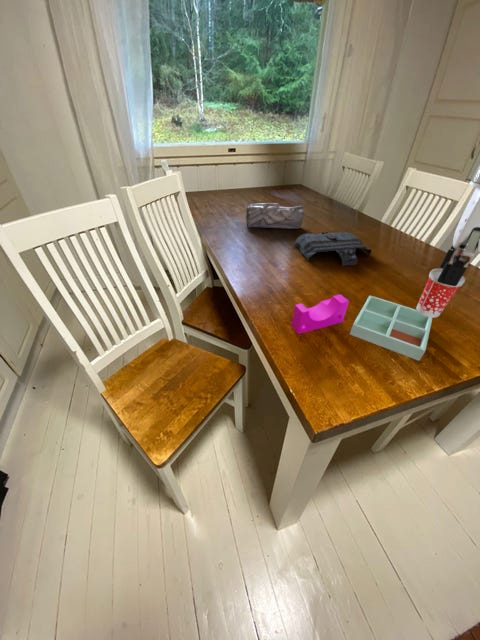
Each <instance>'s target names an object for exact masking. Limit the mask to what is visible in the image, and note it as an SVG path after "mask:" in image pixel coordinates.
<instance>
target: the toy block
mask: <svg viewBox="0 0 480 640" xmlns="http://www.w3.org/2000/svg"><path fill="white" fill-rule="evenodd" d="M349 303H350V301H349V299H347V298H346V297H344V296H343V295H342V294H336V295H333V296H332V297H331V298H329V299H324V300H321V301H320V302H318V303H317V304H316V305H314V306H312V307H308V308H307V307H306V306H305V305H304V304H303V303H297V304H294V309H293V316H292V321H291V327H292V328H293V329H294V331H295V332H296V334H303V333H308V332H311V331H314V330H315V331H316V330H318V329H322V328H326V327H330V326H333V325H338V324H341V323H343V322H344V318H345V315H346V312H347V310H348V306H349Z"/></svg>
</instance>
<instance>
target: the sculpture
mask: <svg viewBox="0 0 480 640" xmlns="http://www.w3.org/2000/svg"><path fill="white" fill-rule="evenodd" d="M304 213H305V209H304V205H297V206H292V207H291V206H290V207H286V206H280V203H277V202H263V203H248V205H247V209H246V227H247V228H266V229H286V230H287V229H289V230H290V229H297V230H298V229H300V228H301V226H302V224H303V219H304Z"/></svg>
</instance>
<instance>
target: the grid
mask: <svg viewBox="0 0 480 640" xmlns="http://www.w3.org/2000/svg"><path fill="white" fill-rule="evenodd" d="M432 322H433V318H431V317H427V316H424V315H422V314H420V313H419V312H418V311H417V309H416V308H411V307H409V306H405V305H402V304H399V303H396V302H393V301H389V300H386V299H383V298H380V297H377V296H373V295H368V297H367V299H366V301H365V303H364V305H363V306H362V308H361V310H360V312H359V313H358V314H357V317H356V318H355V320H354V322H353V323H352V326H351V328H350V332H349V335H350V336H352V337H356V338H358V339H361V340H363V341H365V342H369V343H371V344H374V345H376V346H380V347H381V348H384V349H387V350H389V351H392V352H395V353H397V354H399V355H403V356H406V357H408V358H411V359H413V360H415V361H418V362H420V361H421V359H422V357H424V354H425V353H426V350H427V347H428V341H429V337H430V331H431V327H432V324H433V323H432Z"/></svg>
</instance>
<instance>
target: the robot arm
mask: <svg viewBox="0 0 480 640" xmlns="http://www.w3.org/2000/svg"><path fill="white" fill-rule="evenodd" d="M469 185H470V186H471V187H473V188H475V189H474V191H473V193H472V195H471V196H470V198H469V201H468V203H467V205H466V207H465V209H464V211H463V213H462V215H461V217H460V218H459V221H458V223H457V226H456V228H455V231H454V234H453V240H452V244H451V246H450V247H449V248H448V250H447V252H446V254H445V256H444V258H443V260H442V261H441V264H440V265H439V267H440V268H439V269H443V270H442V272H441V274H440V276H439V278H438V282H439V283H443V284H447V285H451V286H457V284H458V282H459V281H460V279H461V277H462V276H463V277H464V274H465V272H466V271H467V269H468V266H469V264H470V262H471V260H472V258H473V256H474V255H475V253H476V250H477V253H479V254H480V163H479V164H478V166H477V168H476V169H475V172H474V174H473V176H472V178H471V180H470V182H469ZM459 252H462V253H461V255H460V254H459V255H458V253H459ZM457 255H458V256H457Z"/></svg>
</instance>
